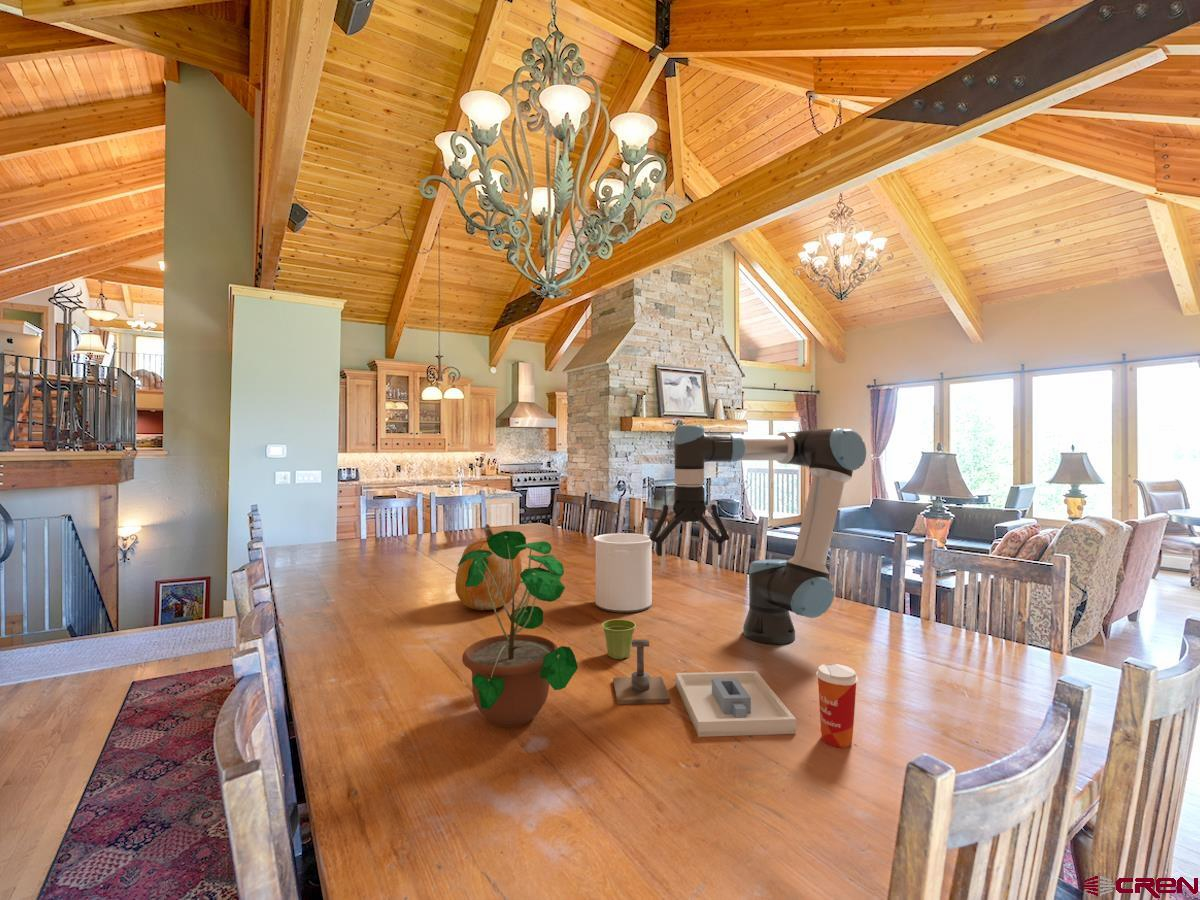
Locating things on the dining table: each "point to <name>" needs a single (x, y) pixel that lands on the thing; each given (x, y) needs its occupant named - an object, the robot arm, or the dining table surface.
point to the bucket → (623, 572)
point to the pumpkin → (488, 578)
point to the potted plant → (517, 639)
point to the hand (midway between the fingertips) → (689, 568)
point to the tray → (713, 722)
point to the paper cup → (837, 703)
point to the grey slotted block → (731, 697)
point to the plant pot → (618, 637)
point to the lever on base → (640, 683)
